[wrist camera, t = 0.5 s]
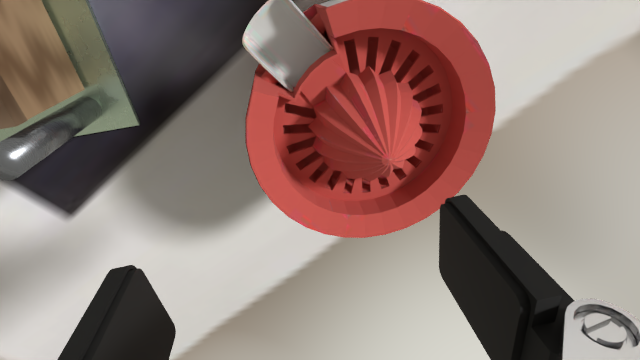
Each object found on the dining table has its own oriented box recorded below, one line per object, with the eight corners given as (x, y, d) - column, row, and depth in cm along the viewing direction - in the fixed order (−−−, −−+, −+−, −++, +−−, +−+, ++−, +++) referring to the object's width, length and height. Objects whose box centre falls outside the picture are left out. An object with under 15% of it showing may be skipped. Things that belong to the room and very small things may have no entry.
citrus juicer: (321, -67, 29) (392, -149, 12) (432, 75, 37) (576, 151, 19) (209, 67, 34) (143, 149, 16) (329, 171, 41) (372, 303, 24)
